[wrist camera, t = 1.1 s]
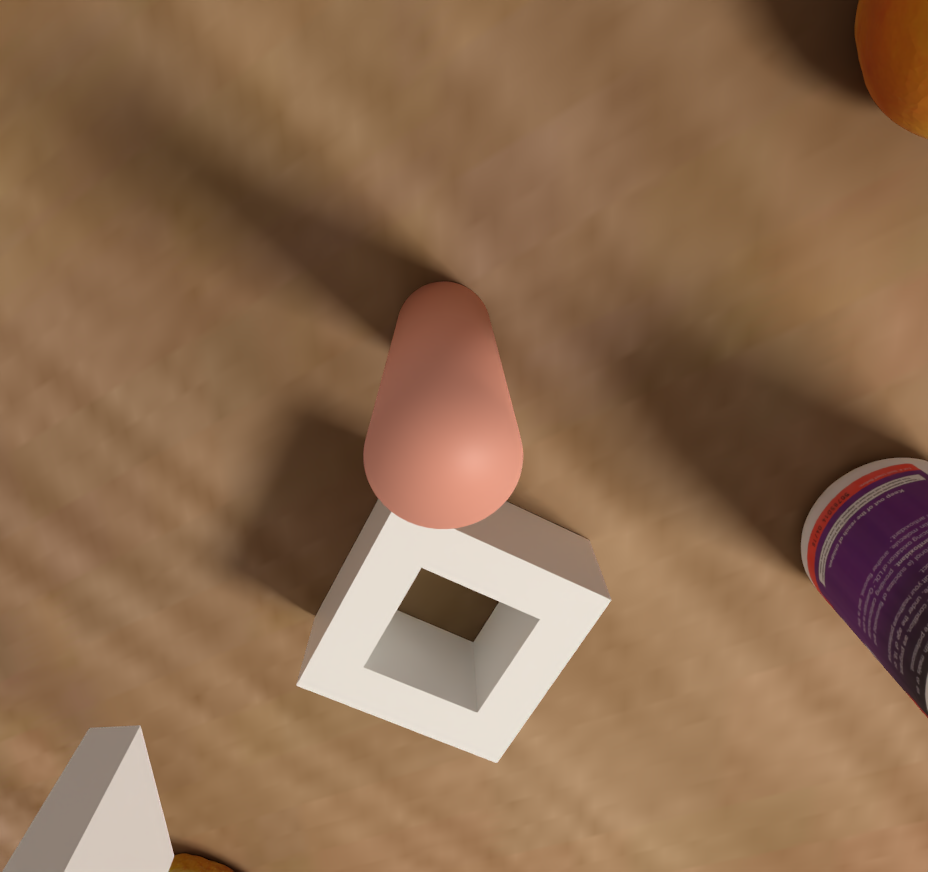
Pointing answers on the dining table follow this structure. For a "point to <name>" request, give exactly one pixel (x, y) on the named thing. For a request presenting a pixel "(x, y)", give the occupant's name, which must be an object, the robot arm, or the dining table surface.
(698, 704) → the dining table surface
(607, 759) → the dining table surface
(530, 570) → the socket block
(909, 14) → the fruit
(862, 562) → the pill bottle
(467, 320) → the peg
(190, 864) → the decorated donut
